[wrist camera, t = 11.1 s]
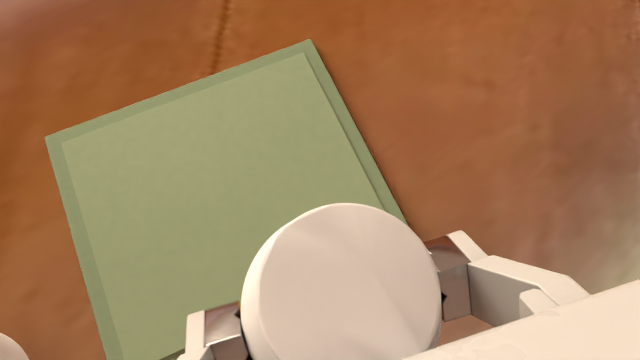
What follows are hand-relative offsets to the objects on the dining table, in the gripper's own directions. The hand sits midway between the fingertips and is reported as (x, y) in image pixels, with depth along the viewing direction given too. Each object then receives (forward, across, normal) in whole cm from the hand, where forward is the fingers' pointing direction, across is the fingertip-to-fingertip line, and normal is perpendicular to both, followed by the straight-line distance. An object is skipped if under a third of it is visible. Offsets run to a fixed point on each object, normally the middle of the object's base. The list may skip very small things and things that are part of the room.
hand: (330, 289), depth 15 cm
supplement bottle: (+4, 0, +4) cm, 6 cm away
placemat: (+18, +4, +5) cm, 19 cm away
